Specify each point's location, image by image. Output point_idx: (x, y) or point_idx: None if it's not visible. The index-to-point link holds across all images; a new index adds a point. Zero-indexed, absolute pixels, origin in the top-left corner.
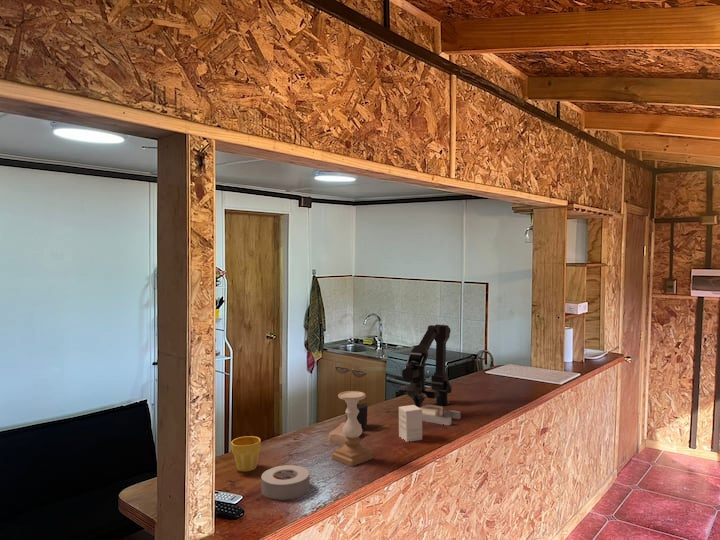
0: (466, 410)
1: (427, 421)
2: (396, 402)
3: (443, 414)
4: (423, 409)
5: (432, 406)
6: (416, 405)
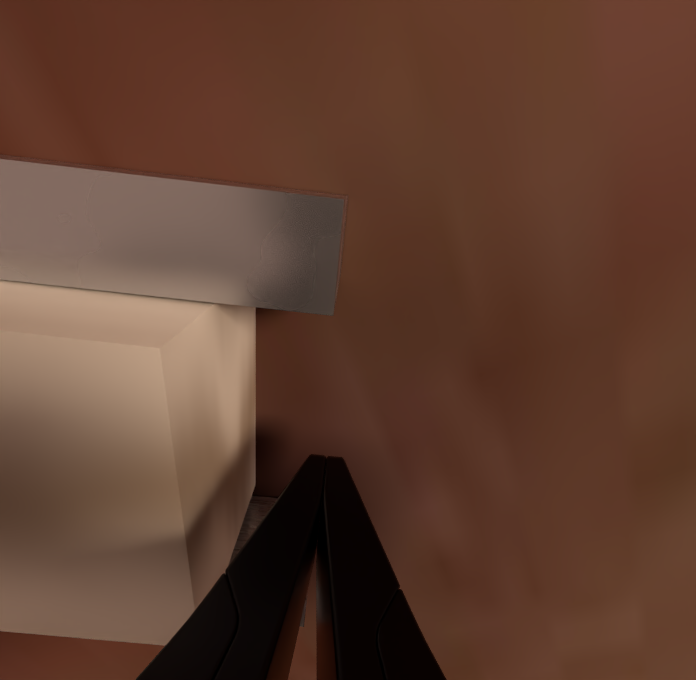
0: (18, 666)
1: (33, 158)
2: (682, 676)
3: None
4: (9, 325)
5: (12, 585)
6: (349, 534)
